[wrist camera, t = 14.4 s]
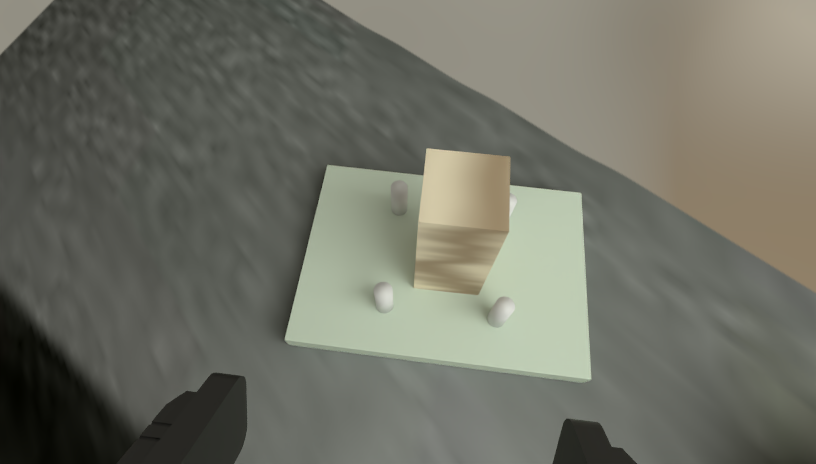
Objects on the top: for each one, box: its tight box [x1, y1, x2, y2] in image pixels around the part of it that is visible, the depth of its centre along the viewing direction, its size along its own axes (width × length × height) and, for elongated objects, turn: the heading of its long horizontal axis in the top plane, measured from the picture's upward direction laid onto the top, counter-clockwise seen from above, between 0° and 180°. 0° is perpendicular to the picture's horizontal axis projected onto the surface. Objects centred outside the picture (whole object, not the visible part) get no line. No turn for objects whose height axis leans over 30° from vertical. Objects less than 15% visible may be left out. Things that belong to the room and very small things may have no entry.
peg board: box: [285, 165, 591, 383], centre depth 31 cm, size 20×14×4 cm
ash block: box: [414, 149, 510, 295], centre depth 28 cm, size 4×4×10 cm
